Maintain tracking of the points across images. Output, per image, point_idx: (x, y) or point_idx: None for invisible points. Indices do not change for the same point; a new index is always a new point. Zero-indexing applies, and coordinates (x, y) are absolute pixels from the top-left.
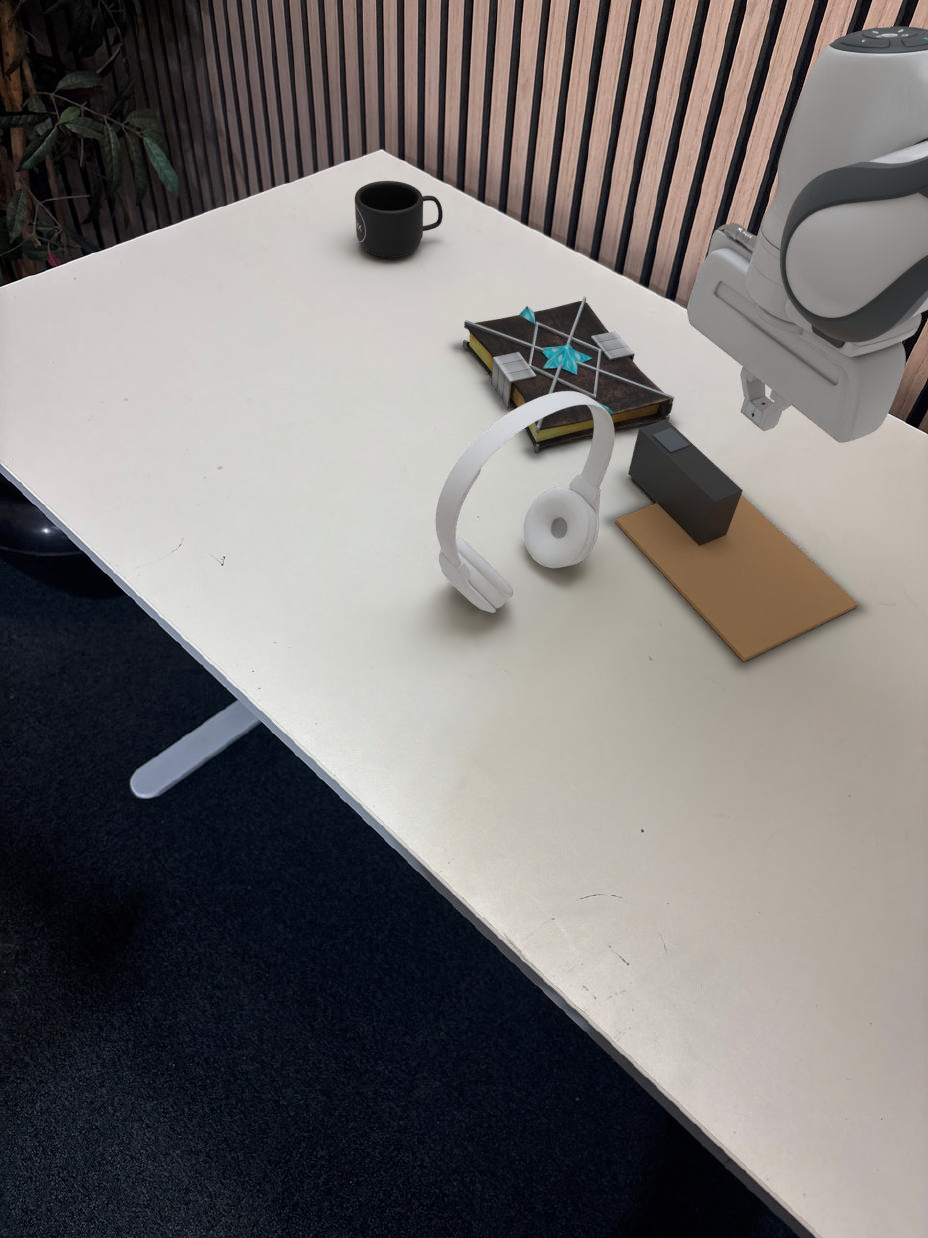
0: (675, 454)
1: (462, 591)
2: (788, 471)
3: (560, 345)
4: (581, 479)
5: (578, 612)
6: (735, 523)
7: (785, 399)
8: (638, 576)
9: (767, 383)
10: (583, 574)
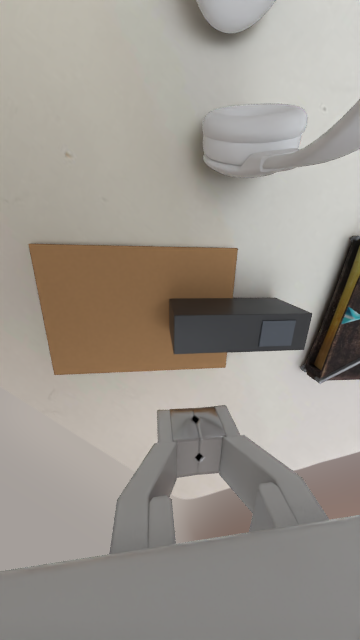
0: (257, 324)
1: None
2: None
3: None
4: (292, 152)
5: (155, 122)
6: None
7: (55, 572)
8: (167, 222)
9: (183, 561)
10: (196, 168)
